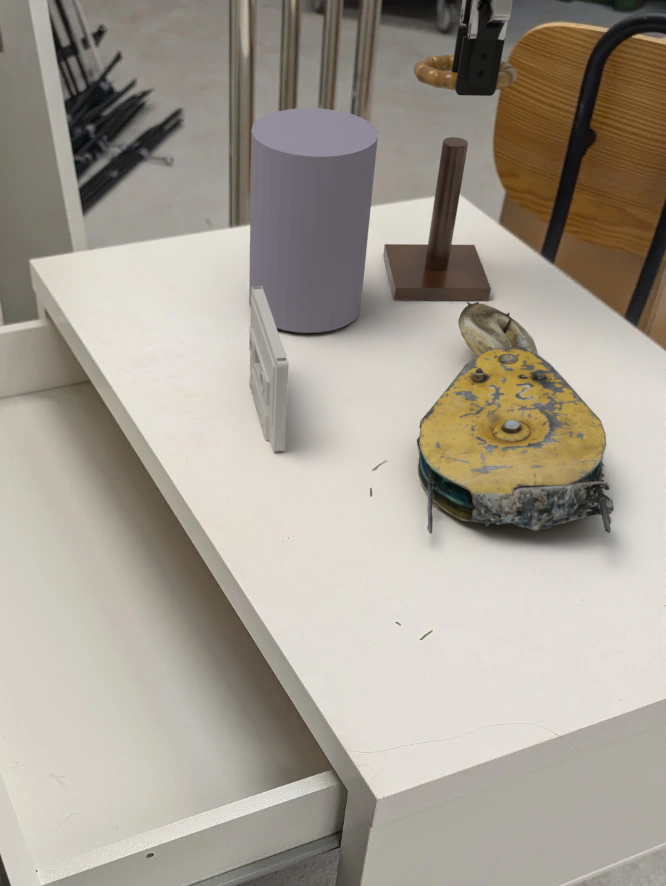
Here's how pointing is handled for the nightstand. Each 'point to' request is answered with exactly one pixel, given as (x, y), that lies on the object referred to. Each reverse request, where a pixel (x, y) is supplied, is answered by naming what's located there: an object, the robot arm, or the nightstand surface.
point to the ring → (438, 75)
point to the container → (311, 215)
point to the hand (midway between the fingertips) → (472, 87)
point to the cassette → (268, 371)
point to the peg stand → (439, 245)
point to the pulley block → (511, 436)
